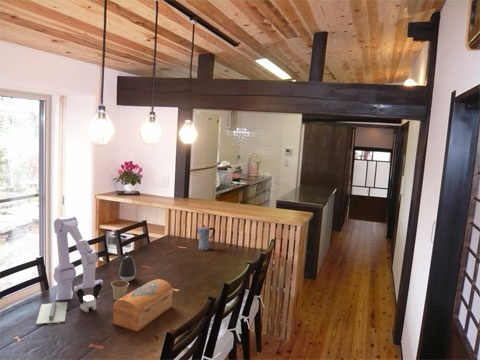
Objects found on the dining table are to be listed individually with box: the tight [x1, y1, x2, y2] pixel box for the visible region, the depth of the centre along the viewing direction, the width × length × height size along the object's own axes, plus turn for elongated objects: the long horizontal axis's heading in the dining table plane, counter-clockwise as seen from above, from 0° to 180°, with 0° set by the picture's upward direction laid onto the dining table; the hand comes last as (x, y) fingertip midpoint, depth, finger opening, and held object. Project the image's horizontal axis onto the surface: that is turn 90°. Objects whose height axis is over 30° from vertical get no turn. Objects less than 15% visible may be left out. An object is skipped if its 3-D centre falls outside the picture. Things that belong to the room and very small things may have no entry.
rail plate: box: [35, 300, 68, 325], centre depth 182 cm, size 20×12×3 cm, turn 21°
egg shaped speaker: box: [118, 255, 137, 282], centre depth 229 cm, size 10×10×15 cm
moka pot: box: [195, 224, 215, 251], centre depth 303 cm, size 10×15×20 cm, turn 107°
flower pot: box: [110, 280, 130, 301], centre depth 203 cm, size 9×9×9 cm
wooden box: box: [112, 278, 174, 332], centre depth 188 cm, size 30×16×14 cm, turn 158°
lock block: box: [79, 294, 97, 313], centre depth 189 cm, size 6×5×6 cm
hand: (88, 300), depth 189 cm, fingers open, 7 cm apart
